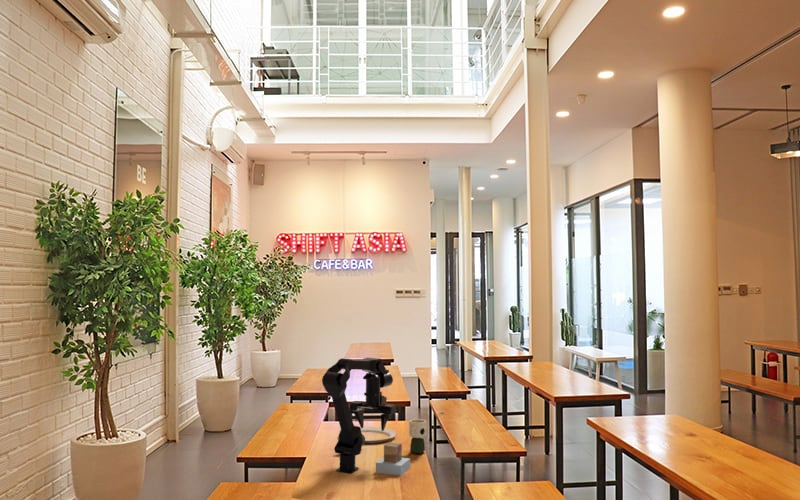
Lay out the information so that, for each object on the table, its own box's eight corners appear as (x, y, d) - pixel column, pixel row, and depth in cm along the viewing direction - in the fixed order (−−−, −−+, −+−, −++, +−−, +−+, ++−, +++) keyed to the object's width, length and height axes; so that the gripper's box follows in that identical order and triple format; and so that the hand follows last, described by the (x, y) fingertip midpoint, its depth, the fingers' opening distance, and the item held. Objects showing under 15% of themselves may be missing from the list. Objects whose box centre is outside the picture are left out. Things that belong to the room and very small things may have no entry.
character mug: (420, 457, 251) (420, 424, 251) (404, 454, 254) (404, 422, 254) (430, 450, 260) (430, 419, 261) (415, 448, 263) (415, 417, 264)
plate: (330, 442, 273) (330, 437, 273) (352, 429, 297) (352, 424, 297) (385, 447, 265) (385, 442, 266) (402, 433, 290) (403, 429, 290)
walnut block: (395, 463, 230) (396, 446, 230) (383, 461, 232) (384, 445, 232) (401, 459, 234) (401, 443, 235) (389, 457, 237) (390, 441, 237)
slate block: (400, 476, 226) (401, 465, 227) (375, 473, 230) (375, 462, 230) (410, 469, 236) (410, 458, 236) (385, 466, 239) (386, 455, 239)
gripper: (402, 388, 250) (402, 427, 250) (362, 384, 258) (361, 422, 257) (390, 392, 240) (390, 433, 239) (348, 388, 248) (348, 428, 247)
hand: (372, 429), depth 246 cm, fingers open, 9 cm apart
